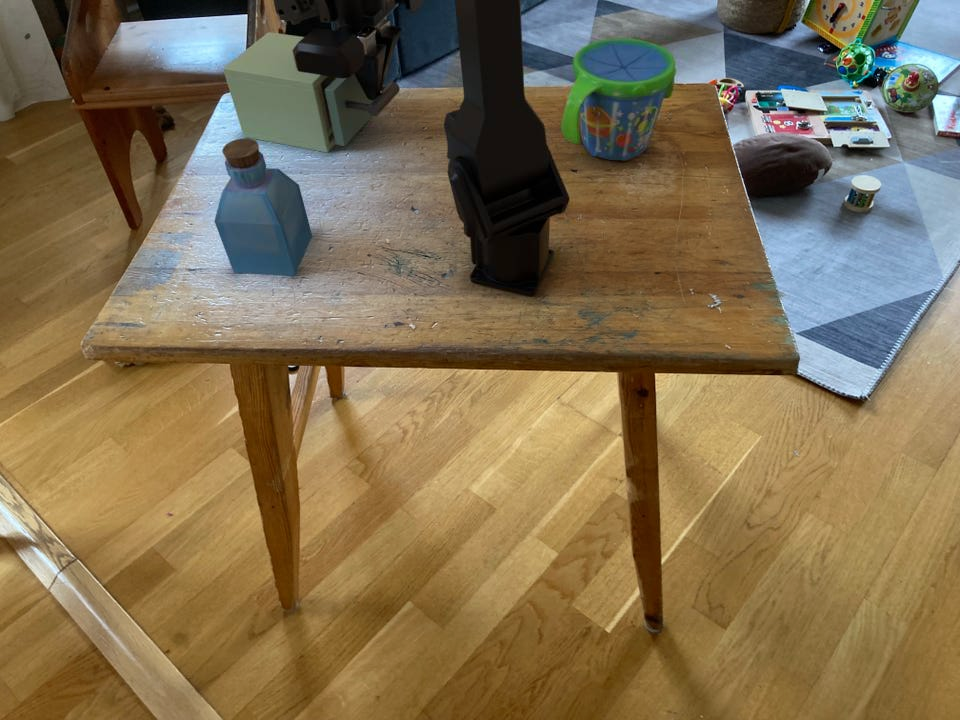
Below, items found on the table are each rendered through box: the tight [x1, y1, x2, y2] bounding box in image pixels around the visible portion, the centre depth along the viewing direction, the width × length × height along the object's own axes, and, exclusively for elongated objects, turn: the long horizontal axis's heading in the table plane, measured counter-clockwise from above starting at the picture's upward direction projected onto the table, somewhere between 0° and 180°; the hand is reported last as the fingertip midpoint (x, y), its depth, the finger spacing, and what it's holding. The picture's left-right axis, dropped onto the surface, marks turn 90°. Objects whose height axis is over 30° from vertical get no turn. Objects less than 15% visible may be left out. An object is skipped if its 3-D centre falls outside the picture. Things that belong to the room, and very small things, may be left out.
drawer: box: [317, 74, 400, 147], centre depth 86 cm, size 15×8×7 cm, turn 69°
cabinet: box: [222, 31, 336, 153], centre depth 88 cm, size 12×10×9 cm
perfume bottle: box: [214, 137, 313, 277], centre depth 70 cm, size 6×6×12 cm
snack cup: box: [560, 38, 677, 162], centre depth 81 cm, size 16×10×10 cm
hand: (373, 98), depth 84 cm, fingers closed
